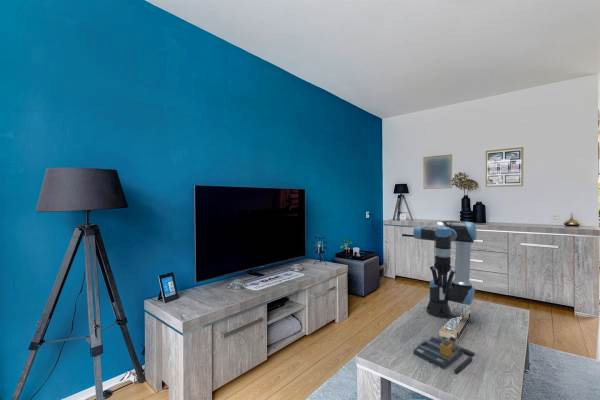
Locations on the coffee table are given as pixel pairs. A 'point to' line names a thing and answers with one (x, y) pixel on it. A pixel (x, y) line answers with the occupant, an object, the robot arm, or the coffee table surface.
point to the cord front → (463, 350)
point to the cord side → (462, 364)
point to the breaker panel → (438, 351)
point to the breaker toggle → (446, 349)
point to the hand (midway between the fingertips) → (442, 299)
